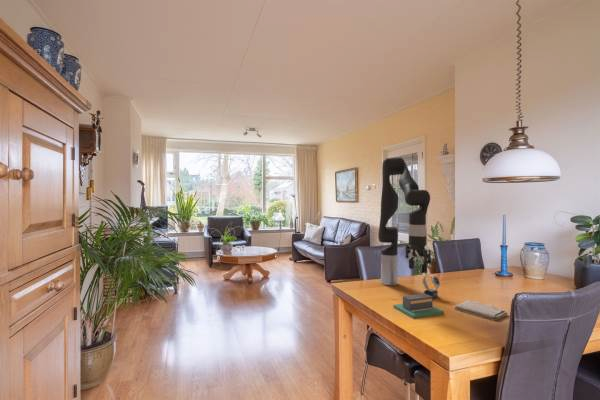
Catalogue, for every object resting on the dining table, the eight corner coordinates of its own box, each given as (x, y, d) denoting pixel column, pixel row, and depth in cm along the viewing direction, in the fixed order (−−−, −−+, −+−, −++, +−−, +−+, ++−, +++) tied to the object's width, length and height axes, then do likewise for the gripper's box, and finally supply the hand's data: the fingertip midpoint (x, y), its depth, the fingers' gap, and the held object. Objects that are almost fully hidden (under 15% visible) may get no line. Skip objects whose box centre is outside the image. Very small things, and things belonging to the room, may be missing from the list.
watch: (436, 299, 158) (436, 277, 157) (421, 296, 163) (420, 274, 163) (441, 297, 161) (441, 275, 161) (426, 293, 167) (426, 272, 167)
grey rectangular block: (409, 311, 139) (409, 299, 139) (402, 307, 144) (402, 296, 144) (432, 307, 143) (432, 296, 143) (425, 304, 148) (425, 293, 148)
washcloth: (496, 322, 130) (496, 315, 130) (453, 310, 145) (453, 303, 144) (508, 316, 137) (508, 308, 137) (466, 304, 152) (466, 298, 152)
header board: (393, 307, 148) (393, 297, 147) (422, 303, 152) (422, 293, 152) (412, 318, 134) (412, 307, 134) (443, 313, 139) (443, 303, 139)
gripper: (400, 233, 149) (400, 267, 149) (421, 236, 135) (421, 275, 135) (414, 232, 151) (414, 266, 151) (435, 236, 137) (435, 273, 138)
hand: (417, 270), depth 143 cm, fingers open, 8 cm apart
